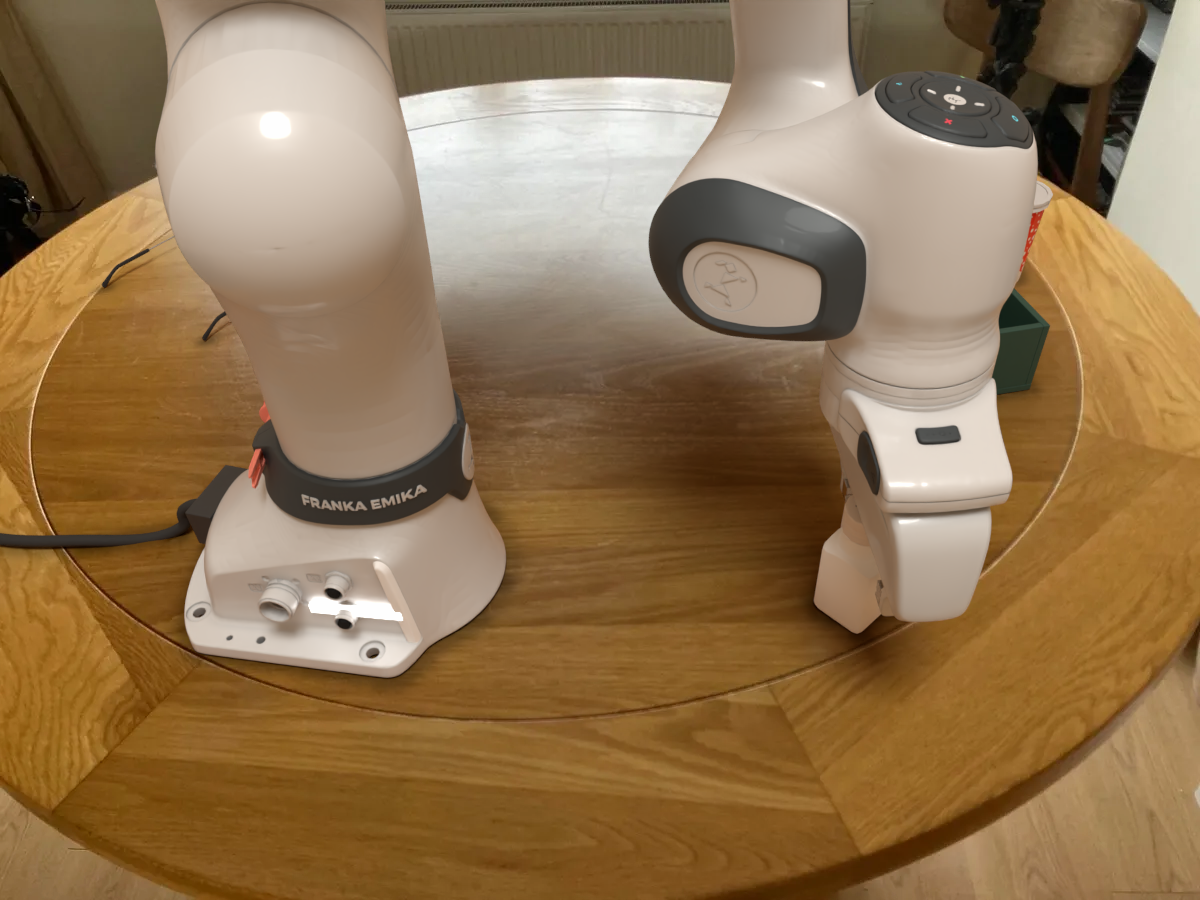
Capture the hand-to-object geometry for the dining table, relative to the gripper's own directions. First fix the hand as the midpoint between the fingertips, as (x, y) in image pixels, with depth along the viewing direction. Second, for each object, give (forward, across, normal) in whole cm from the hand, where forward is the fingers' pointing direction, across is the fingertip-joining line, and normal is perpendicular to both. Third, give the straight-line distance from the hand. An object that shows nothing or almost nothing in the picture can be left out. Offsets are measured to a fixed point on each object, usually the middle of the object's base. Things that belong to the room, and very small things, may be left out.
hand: (872, 549), depth 62 cm
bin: (+6, -26, +13) cm, 30 cm away
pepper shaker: (+5, 0, -1) cm, 5 cm away
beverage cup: (+6, -40, +23) cm, 47 cm away
